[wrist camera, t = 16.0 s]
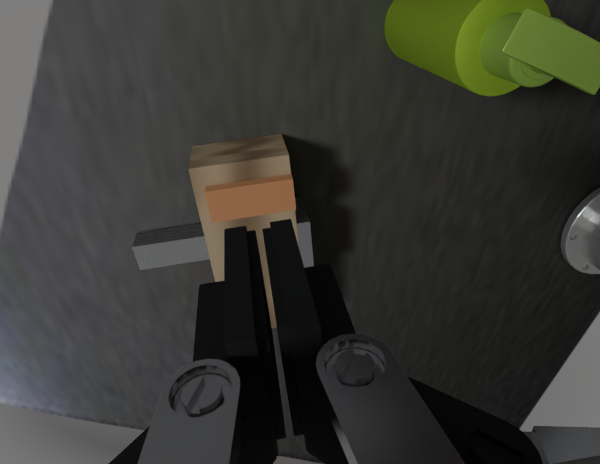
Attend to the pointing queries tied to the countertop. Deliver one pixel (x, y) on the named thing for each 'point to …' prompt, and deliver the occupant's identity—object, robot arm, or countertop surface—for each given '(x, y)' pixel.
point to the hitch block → (234, 168)
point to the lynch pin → (202, 243)
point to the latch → (250, 198)
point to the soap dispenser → (492, 44)
